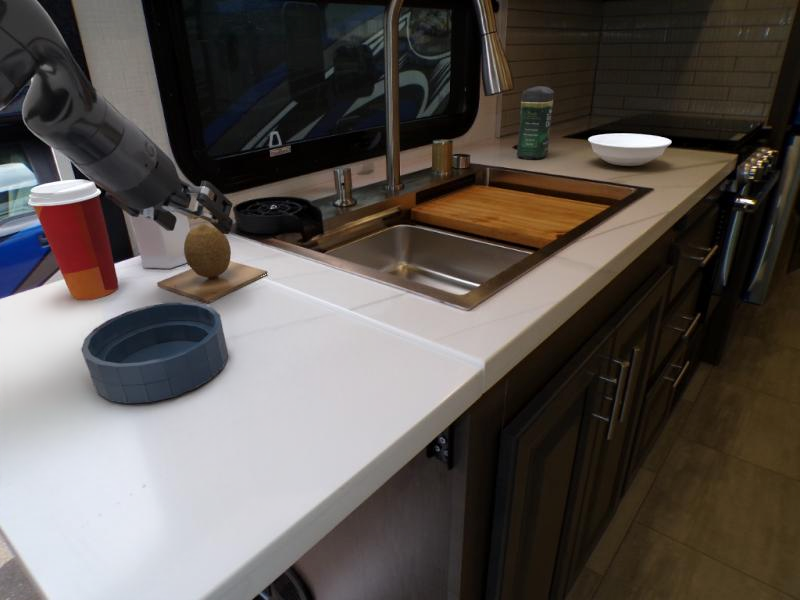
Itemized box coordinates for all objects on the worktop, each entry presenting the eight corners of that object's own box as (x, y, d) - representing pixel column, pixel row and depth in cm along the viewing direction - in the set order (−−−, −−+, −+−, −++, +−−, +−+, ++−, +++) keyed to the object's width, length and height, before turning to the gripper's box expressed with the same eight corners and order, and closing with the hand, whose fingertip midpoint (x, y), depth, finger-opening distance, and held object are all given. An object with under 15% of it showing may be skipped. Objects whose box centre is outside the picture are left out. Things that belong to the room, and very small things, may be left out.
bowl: (608, 154, 149) (611, 131, 146) (680, 163, 136) (685, 138, 133) (570, 165, 137) (573, 140, 134) (645, 177, 124) (650, 149, 121)
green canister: (541, 161, 143) (547, 88, 135) (513, 158, 147) (518, 87, 139) (551, 154, 151) (558, 85, 142) (524, 152, 154) (529, 84, 146)
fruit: (180, 283, 74) (168, 229, 71) (209, 266, 80) (199, 215, 76) (217, 288, 72) (205, 233, 69) (244, 271, 77) (234, 219, 74)
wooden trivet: (157, 286, 75) (156, 282, 75) (218, 261, 83) (218, 257, 83) (207, 303, 70) (206, 299, 69) (268, 274, 78) (267, 270, 77)
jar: (182, 246, 90) (166, 176, 84) (209, 256, 85) (194, 183, 80) (130, 262, 84) (110, 188, 78) (157, 274, 79) (137, 196, 74)
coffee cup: (108, 274, 79) (79, 175, 73) (138, 286, 75) (110, 182, 68) (50, 295, 73) (11, 189, 67) (79, 309, 69) (41, 198, 62)
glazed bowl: (69, 379, 54) (55, 342, 52) (178, 325, 64) (170, 292, 62) (144, 422, 48) (132, 382, 46) (253, 355, 58) (247, 319, 56)
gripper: (57, 188, 58) (148, 248, 73) (171, 192, 55) (241, 254, 70) (78, 130, 60) (162, 200, 75) (189, 132, 57) (253, 204, 72)
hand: (200, 226), depth 73 cm, fingers open, 8 cm apart
